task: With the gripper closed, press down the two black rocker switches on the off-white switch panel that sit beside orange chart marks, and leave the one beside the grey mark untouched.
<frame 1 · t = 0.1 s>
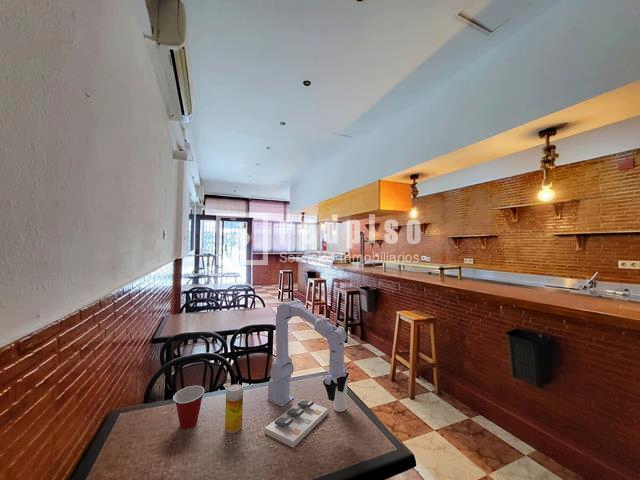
hand: (336, 395, 106), 10 cm above the table, tool pointing down, fingers open, 7 cm apart
switch panel: (298, 423, 105), on the table
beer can: (233, 429, 101), on the table
drinking glass: (339, 409, 114), on the table, touching gripper
plastic cup: (187, 425, 103), on the table
rocker c: (305, 403, 112), point 4 cm above the table, hinge at -12.0°
rocker a: (283, 421, 100), point 4 cm above the table, hinge at -12.0°
rocker b: (295, 412, 106), point 4 cm above the table, hinge at -12.0°
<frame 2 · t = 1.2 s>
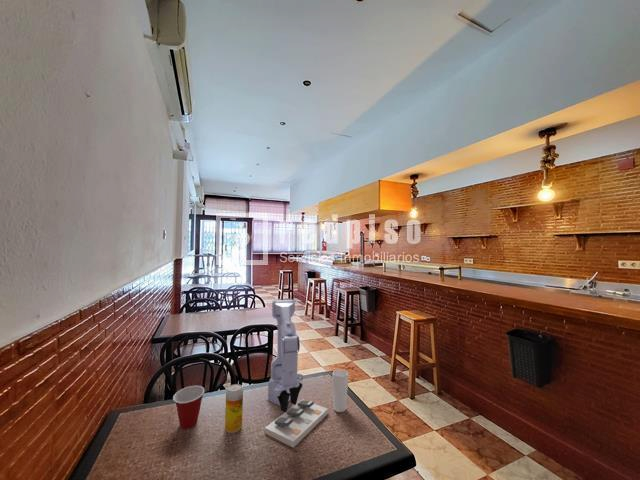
hand: (288, 407, 99), 9 cm above the table, tool pointing down, fingers open, 5 cm apart
drinking glass: (339, 409, 114), on the table
everything else where it was.
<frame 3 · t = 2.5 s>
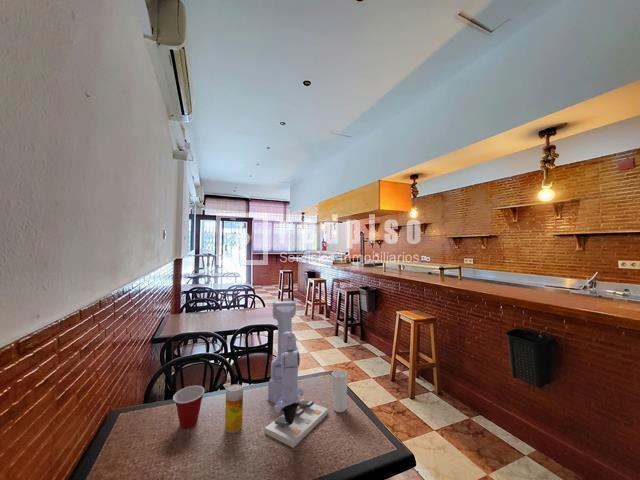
hand: (289, 423, 98), 4 cm above the table, tool pointing down, fingers closed, pressing on rocker a
rocker a: (283, 421, 100), point 4 cm above the table, hinge at -8.8°, touching gripper
everything else where it was.
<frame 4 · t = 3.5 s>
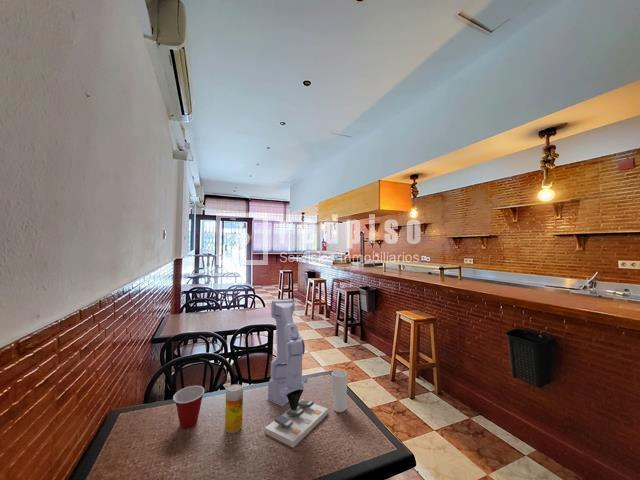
hand: (293, 409, 102), 7 cm above the table, tool pointing down, fingers closed
rocker a: (283, 421, 100), point 4 cm above the table, hinge at 5.4°
everything else where it was.
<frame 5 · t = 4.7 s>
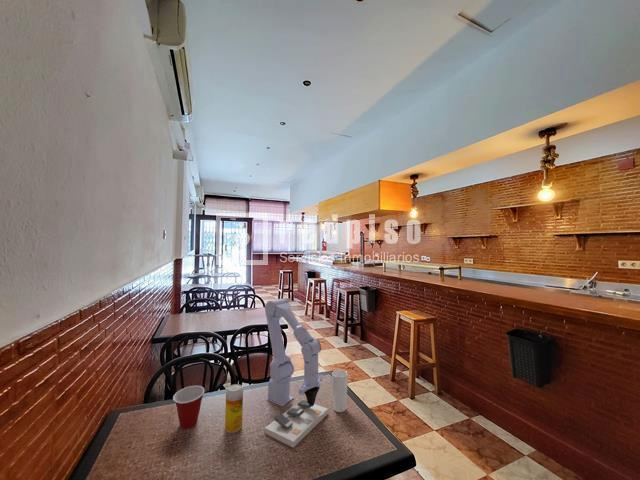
hand: (311, 405, 110), 4 cm above the table, tool pointing down, fingers closed, pressing on rocker c
rocker c: (305, 403, 112), point 4 cm above the table, hinge at -9.4°, touching gripper
rocker a: (283, 421, 100), point 4 cm above the table, hinge at 16.1°
everything else where it was.
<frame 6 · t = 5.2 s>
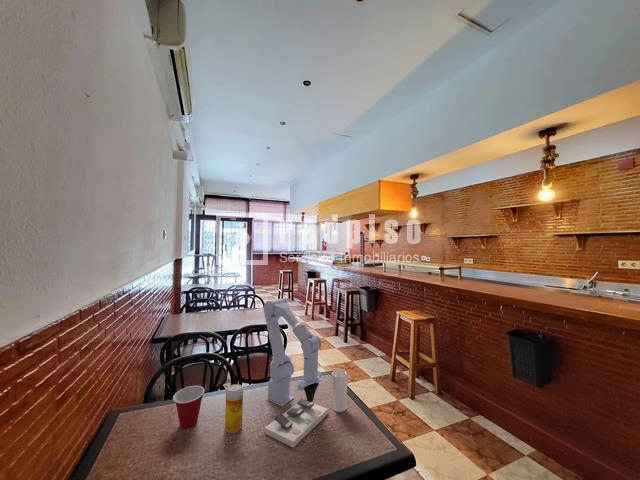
hand: (310, 400, 111), 5 cm above the table, tool pointing down, fingers closed
rocker c: (305, 403, 112), point 4 cm above the table, hinge at 0.7°
rocker a: (283, 421, 100), point 4 cm above the table, hinge at 19.2°
everything else where it was.
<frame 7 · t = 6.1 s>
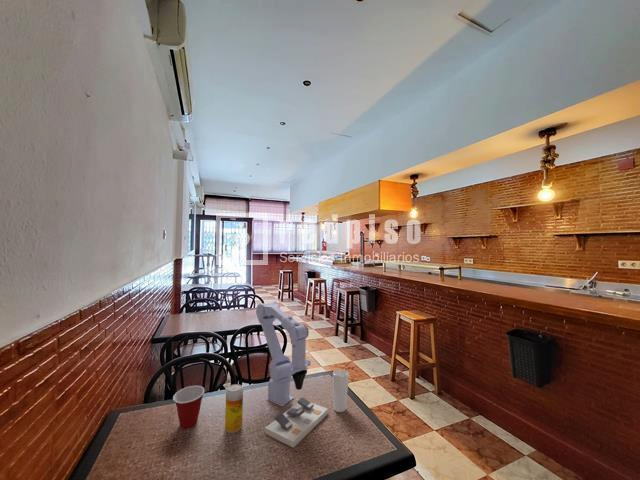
hand: (298, 388, 112), 9 cm above the table, tool pointing down, fingers closed
rocker c: (305, 403, 112), point 4 cm above the table, hinge at 11.0°
rocker a: (283, 421, 100), point 4 cm above the table, hinge at 23.4°, touching switch panel
everything else where it was.
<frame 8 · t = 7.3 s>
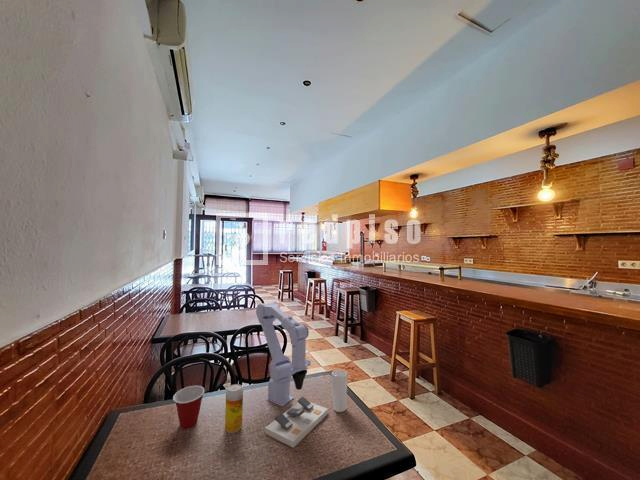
hand: (298, 388, 112), 9 cm above the table, tool pointing down, fingers closed
rocker c: (305, 403, 112), point 4 cm above the table, hinge at 20.0°
rocker a: (283, 421, 100), point 4 cm above the table, hinge at 21.1°
everything else where it was.
at the end: rocker a at +21° (first picture: -12°); rocker c at +20° (first picture: -12°); rocker b at -12° (first picture: -12°) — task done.
